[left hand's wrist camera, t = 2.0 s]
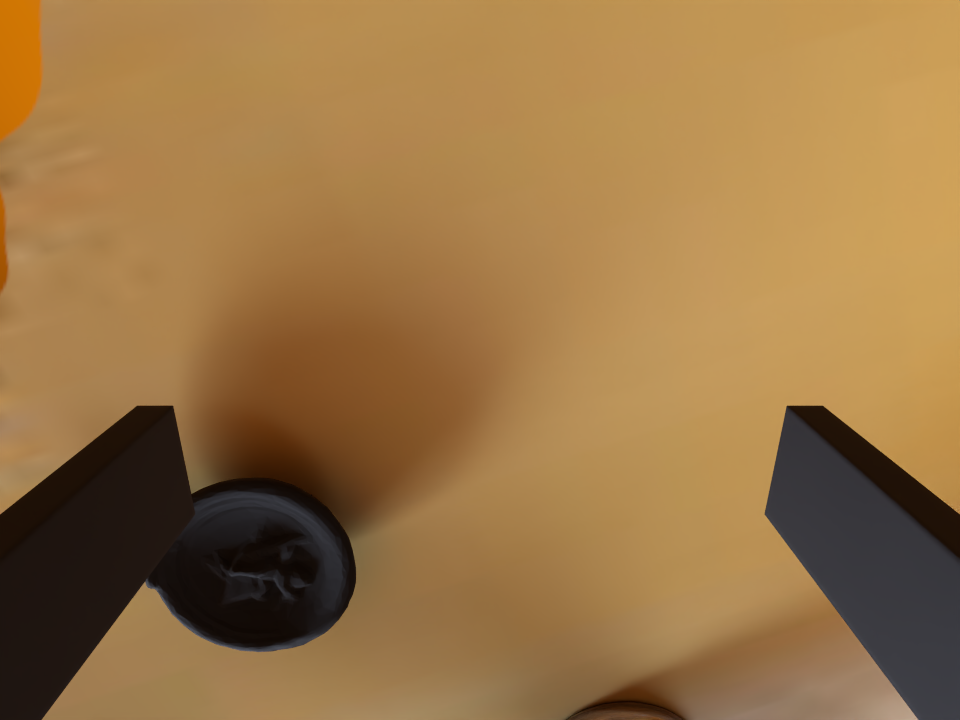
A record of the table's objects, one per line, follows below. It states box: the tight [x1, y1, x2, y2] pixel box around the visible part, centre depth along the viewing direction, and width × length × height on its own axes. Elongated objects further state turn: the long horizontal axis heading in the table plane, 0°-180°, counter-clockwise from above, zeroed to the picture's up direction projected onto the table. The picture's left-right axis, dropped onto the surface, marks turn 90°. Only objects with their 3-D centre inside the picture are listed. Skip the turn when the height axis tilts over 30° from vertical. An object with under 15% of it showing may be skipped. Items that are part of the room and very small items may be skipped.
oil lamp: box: [145, 478, 356, 652], centre depth 44 cm, size 15×20×5 cm
